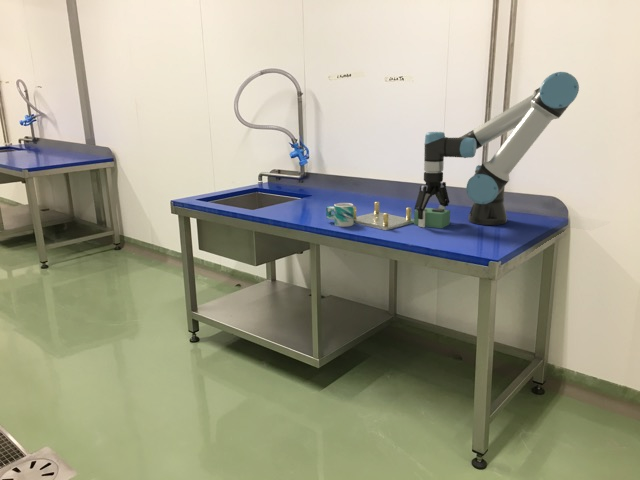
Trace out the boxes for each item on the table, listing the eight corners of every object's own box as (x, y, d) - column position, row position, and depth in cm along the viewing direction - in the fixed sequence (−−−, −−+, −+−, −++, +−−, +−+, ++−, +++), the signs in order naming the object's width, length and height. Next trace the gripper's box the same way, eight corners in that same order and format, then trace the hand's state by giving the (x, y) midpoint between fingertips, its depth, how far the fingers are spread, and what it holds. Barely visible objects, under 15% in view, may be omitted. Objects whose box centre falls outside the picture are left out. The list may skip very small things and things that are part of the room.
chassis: (415, 222, 222) (415, 207, 220) (386, 230, 210) (386, 215, 209) (376, 214, 238) (376, 200, 236) (347, 221, 227) (347, 207, 225)
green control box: (449, 224, 218) (450, 207, 216) (441, 228, 212) (442, 211, 210) (422, 221, 225) (422, 204, 223) (414, 225, 218) (414, 208, 216)
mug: (346, 227, 217) (345, 207, 215) (322, 223, 224) (322, 204, 222) (357, 223, 223) (357, 203, 221) (334, 220, 230) (333, 200, 228)
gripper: (444, 167, 223) (442, 217, 228) (406, 174, 207) (405, 227, 213) (459, 169, 217) (457, 220, 223) (421, 176, 202) (419, 231, 207)
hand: (431, 224), depth 218 cm, fingers open, 12 cm apart
